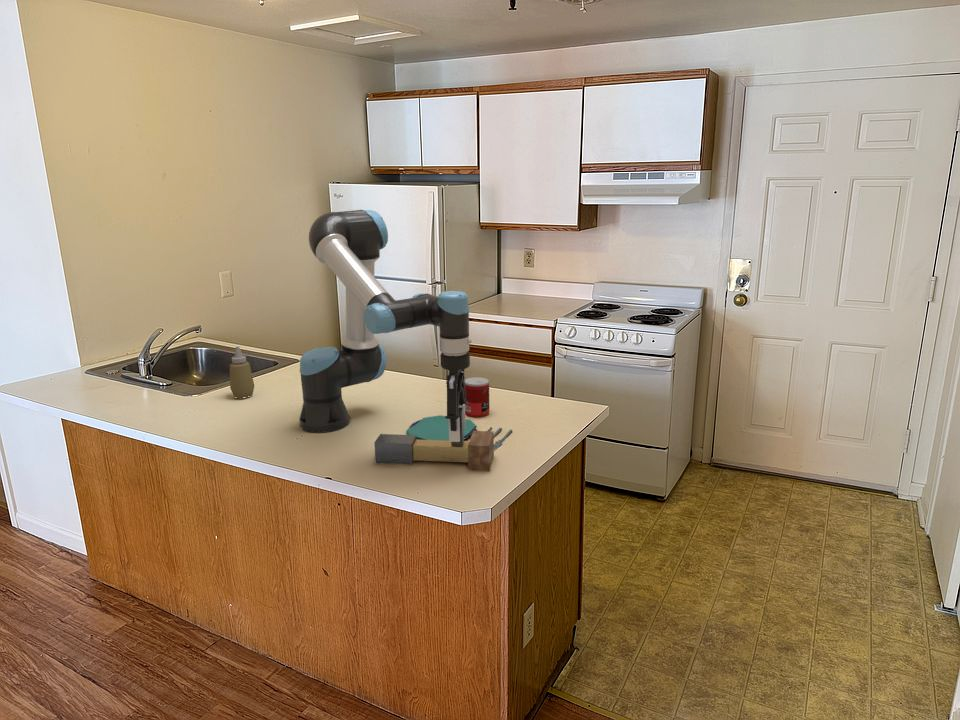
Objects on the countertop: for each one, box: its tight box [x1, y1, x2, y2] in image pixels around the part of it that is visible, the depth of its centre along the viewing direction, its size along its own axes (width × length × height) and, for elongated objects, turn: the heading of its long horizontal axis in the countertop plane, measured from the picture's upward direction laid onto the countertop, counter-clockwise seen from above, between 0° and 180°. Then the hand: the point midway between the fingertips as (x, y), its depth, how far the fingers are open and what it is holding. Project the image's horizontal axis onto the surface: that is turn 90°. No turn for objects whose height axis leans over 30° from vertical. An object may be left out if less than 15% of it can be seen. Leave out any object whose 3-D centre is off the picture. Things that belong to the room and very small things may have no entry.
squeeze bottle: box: [229, 346, 255, 399], centre depth 237 cm, size 8×8×18 cm
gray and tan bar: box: [412, 408, 470, 463], centre depth 182 cm, size 22×4×14 cm, turn 82°
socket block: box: [467, 430, 495, 472], centre depth 182 cm, size 6×10×7 cm, turn 172°
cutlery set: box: [405, 414, 513, 452], centre depth 201 cm, size 20×30×2 cm, turn 66°
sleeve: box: [374, 433, 417, 466], centre depth 185 cm, size 10×6×6 cm, turn 82°
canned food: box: [464, 377, 490, 418], centre depth 217 cm, size 8×8×11 cm
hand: (457, 434), depth 181 cm, fingers open, 8 cm apart
